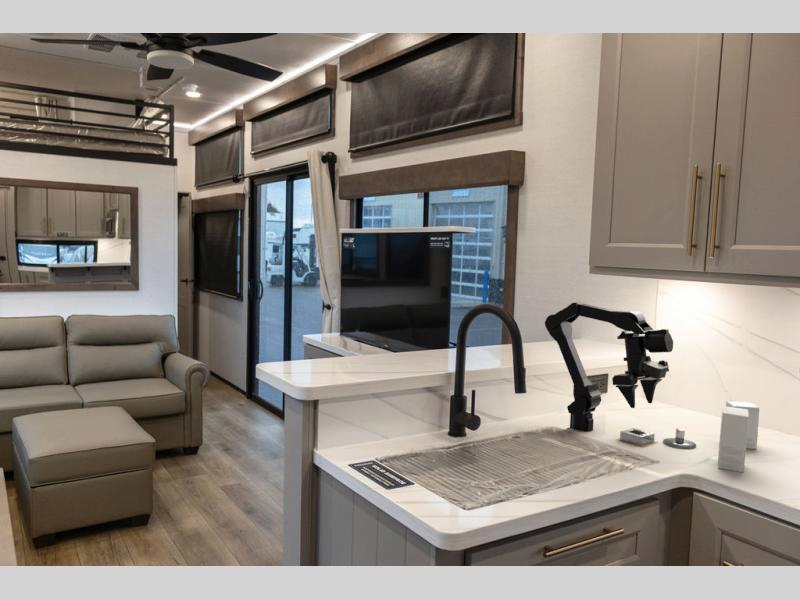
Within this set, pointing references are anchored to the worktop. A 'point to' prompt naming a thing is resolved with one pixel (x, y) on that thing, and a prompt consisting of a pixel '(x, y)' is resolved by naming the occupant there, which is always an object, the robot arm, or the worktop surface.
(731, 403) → the supplement box
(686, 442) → the hub
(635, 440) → the collar
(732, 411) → the skincare box
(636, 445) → the stand
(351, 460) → the worktop surface
